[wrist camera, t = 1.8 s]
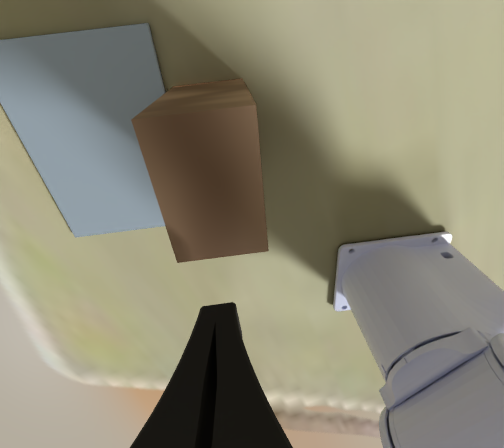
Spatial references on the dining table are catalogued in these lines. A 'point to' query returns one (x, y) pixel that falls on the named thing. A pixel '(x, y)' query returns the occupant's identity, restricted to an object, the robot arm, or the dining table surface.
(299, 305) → the dining table surface
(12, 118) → the mat
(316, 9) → the dining table surface
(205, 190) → the brown wooden block
